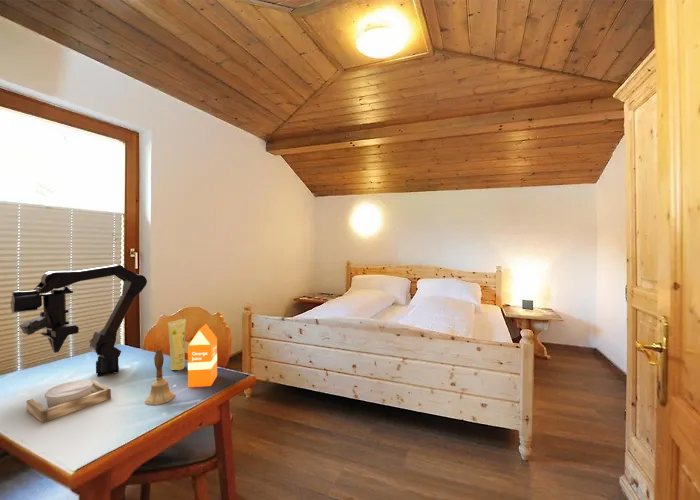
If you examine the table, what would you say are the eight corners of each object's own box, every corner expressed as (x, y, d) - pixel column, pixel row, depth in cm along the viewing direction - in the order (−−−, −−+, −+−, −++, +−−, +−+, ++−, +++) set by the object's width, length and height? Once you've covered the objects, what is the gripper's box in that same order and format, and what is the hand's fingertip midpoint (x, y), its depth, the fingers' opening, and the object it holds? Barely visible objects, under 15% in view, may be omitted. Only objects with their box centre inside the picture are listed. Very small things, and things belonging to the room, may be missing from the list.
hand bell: (143, 407, 97) (142, 355, 96) (146, 396, 104) (145, 347, 104) (174, 401, 100) (174, 351, 100) (175, 390, 108) (174, 344, 107)
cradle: (93, 388, 109) (93, 380, 109) (110, 398, 102) (110, 388, 102) (26, 410, 95) (26, 400, 95) (42, 422, 88) (42, 412, 88)
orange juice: (217, 375, 120) (217, 322, 120) (211, 385, 112) (210, 329, 111) (195, 376, 119) (195, 323, 119) (187, 387, 110) (186, 330, 110)
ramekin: (63, 416, 92) (62, 398, 92) (35, 411, 95) (34, 393, 94) (101, 398, 103) (101, 382, 103) (75, 394, 105) (75, 378, 105)
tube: (182, 371, 124) (181, 321, 124) (167, 372, 123) (167, 322, 122) (186, 365, 130) (185, 318, 129) (172, 366, 128) (172, 318, 128)
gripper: (11, 309, 107) (13, 355, 108) (35, 315, 99) (36, 365, 99) (54, 303, 117) (55, 345, 118) (78, 308, 108) (80, 353, 109)
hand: (56, 352), depth 111 cm, fingers closed
